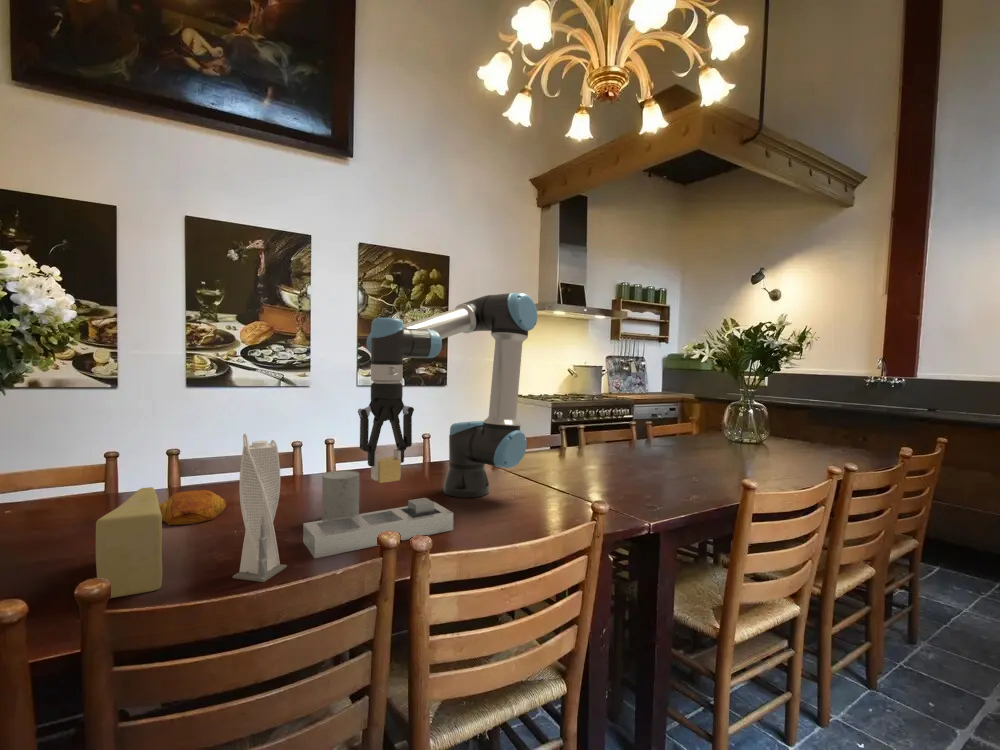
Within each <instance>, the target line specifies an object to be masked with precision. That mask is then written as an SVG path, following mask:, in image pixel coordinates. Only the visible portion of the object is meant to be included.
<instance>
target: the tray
mask: <svg viewBox="0 0 1000 750" xmlns="http://www.w3.org/2000/svg"><path fill="white" fill-rule="evenodd" d="M302 525H303V527H302V528H303V530H302V531H303V532H302V533H303V535H302V536H303V538H302V539H303V541H302V542H303V544H304V545H305V547H306V548H307V550H308V551H309V552H310V554H311V556H312V557H313V558H314V559H320V558H325V557H330V556H333V555H339V554H344V553H348V552H352V551H357V550H362V549H363V550H364V549H368V548H374V547H378V546H379V545H377V537H378V535H379V534H380V533H381V532H383V531H389V530H390V531H396V532H398V533H400V535H401V540H402V541H401V542H403V541H407V540H411V539H410V538H411V537H413V536H416V535H427V536H432V535H436V534H441V533H446V532H451V531H453V530H454V512H453V511H451V510H449V509H447V508H446V507H444V506H442V505H440V504H439V503H437V502H436V501H432V500H431V499H429V498H427V497H422V498H415V499H409V500H407V506H401V507H395V508H389V509H387V508H386V509H383V510H376V511H371V512H363V513H359V514H357V515H351V516H345V517H339V518H332V519H326V520H322V519H320V520H316V521H309V522H303V524H302Z"/></svg>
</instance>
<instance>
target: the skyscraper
mask: <svg viewBox="0 0 1000 750" xmlns="http://www.w3.org/2000/svg"><path fill="white" fill-rule="evenodd" d="M242 439H243V440H242V441H243V446H242V453H241V460H240V469H239V482H238V483H239V486H238V487H239V501H240V503H239V504H240V509H241V515H242V520H243V524H244V529H245V532H244V537H243V538H244V539H243V545H242V551H241V558H240V564H239V565H240V566H239V572H236V573H235V574H234V575H232V579H236V580H238V579H239V580H245V581H253V582H260V583H265V582H266V581H268V580H269V579H272V578H273V577H274V576H276V575H277V574H279V573H281V572H282V571H283V570H285V569H286V568H287V567H288V565H287V564H280V556H279V549H278V543H277V537H276V532H275V526H274V521H275V517H276V512H277V509H278V505H279V499H280V490H281V467H280V466H281V465H280V457H279V450H278V444H277V442H276V441H275V440H274V439H271V440H270V442H269V443H268V440H255V441H252V442H251V444H249V438H248V435H247V433H243V436H242Z"/></svg>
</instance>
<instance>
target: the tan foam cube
mask: <svg viewBox="0 0 1000 750" xmlns="http://www.w3.org/2000/svg"><path fill="white" fill-rule="evenodd" d="M397 481H401V477H400V459H397V458H395V457H394V455H393V456H392V455H389V456H382V457H381V456H379V459H378V480H377V481H376V482H377V483H380V484H382V483H391V482H397Z"/></svg>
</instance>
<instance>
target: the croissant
mask: <svg viewBox="0 0 1000 750" xmlns="http://www.w3.org/2000/svg"><path fill="white" fill-rule="evenodd" d="M159 507H160V511H161V515H162V522H163V523H166V524H167V526H184V525H193V524H194V525H195V524H199V523H203V522H206V521H212V520H215V519H217V517H218V516H219V515H220V514H222V513H223V511H224V509H225V508H226V507H227V501H226V500H225V499H224V498H222V497H221V496H220V495H219V494H216V493H215V492H213V491H212V490H207V489H197V490H187V491H180V492H178V491H177V492H175V493H173V494H172V495H171V496H170V497H169V498H168V499H166V500H165V501H163V502H162V503H159Z"/></svg>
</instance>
